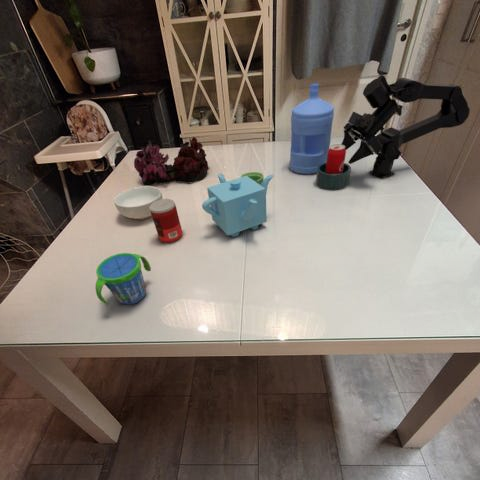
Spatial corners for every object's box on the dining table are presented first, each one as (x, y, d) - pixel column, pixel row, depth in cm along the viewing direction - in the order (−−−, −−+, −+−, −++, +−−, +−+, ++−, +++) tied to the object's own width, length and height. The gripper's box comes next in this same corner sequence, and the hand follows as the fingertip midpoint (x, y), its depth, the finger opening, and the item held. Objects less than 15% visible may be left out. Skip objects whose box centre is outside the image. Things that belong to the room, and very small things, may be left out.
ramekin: (268, 187, 116) (268, 175, 113) (250, 195, 113) (250, 183, 109) (254, 180, 121) (253, 169, 118) (236, 188, 118) (235, 177, 115)
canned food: (187, 231, 99) (179, 199, 91) (176, 244, 94) (166, 212, 86) (166, 229, 101) (157, 197, 93) (155, 242, 96) (144, 210, 88)
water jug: (300, 158, 133) (304, 78, 112) (333, 163, 126) (344, 79, 105) (282, 171, 125) (284, 88, 104) (317, 177, 118) (325, 90, 97)
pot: (335, 173, 119) (337, 159, 115) (355, 184, 111) (358, 169, 107) (309, 181, 116) (311, 166, 112) (328, 193, 109) (330, 177, 105)
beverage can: (344, 181, 113) (350, 146, 104) (333, 186, 110) (338, 151, 102) (331, 176, 116) (336, 142, 107) (320, 181, 114) (324, 147, 105)
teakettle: (204, 238, 95) (195, 193, 84) (223, 209, 107) (217, 166, 96) (261, 244, 91) (259, 197, 80) (274, 213, 102) (274, 168, 91)
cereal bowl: (175, 211, 110) (170, 192, 104) (137, 231, 102) (130, 211, 97) (148, 199, 118) (143, 181, 113) (112, 216, 111) (104, 198, 106)
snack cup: (119, 322, 73) (101, 291, 66) (96, 304, 78) (77, 274, 71) (167, 287, 81) (156, 256, 73) (143, 273, 86) (131, 243, 78)
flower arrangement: (207, 163, 138) (201, 126, 127) (212, 181, 125) (206, 141, 114) (140, 175, 136) (128, 138, 125) (138, 193, 123) (124, 154, 112)
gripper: (353, 94, 102) (319, 136, 110) (383, 107, 90) (342, 153, 97) (369, 117, 109) (336, 155, 116) (399, 132, 96) (360, 173, 104)
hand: (343, 158), depth 108 cm, fingers open, 9 cm apart
